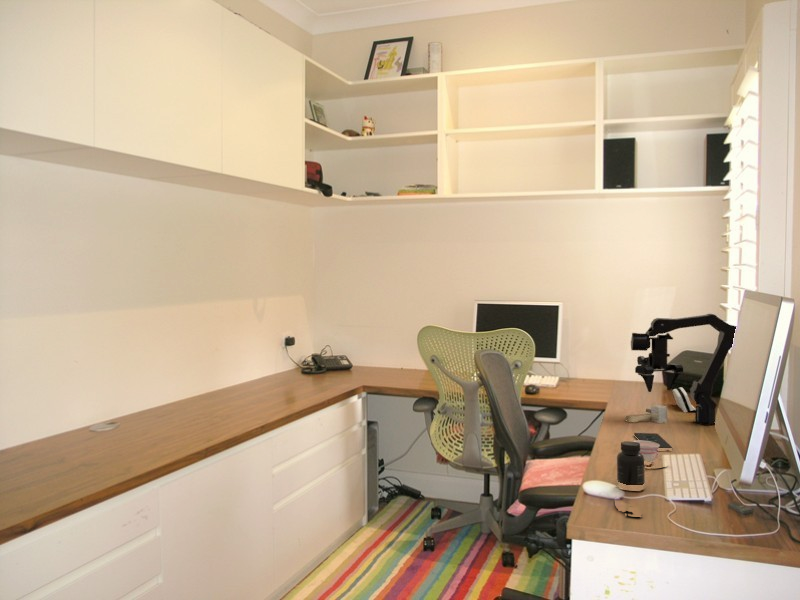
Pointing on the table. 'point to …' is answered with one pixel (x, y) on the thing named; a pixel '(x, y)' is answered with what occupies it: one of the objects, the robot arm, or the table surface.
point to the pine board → (638, 417)
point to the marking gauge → (658, 413)
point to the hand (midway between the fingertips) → (659, 391)
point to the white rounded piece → (682, 399)
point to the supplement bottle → (630, 464)
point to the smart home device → (653, 439)
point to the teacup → (648, 450)
